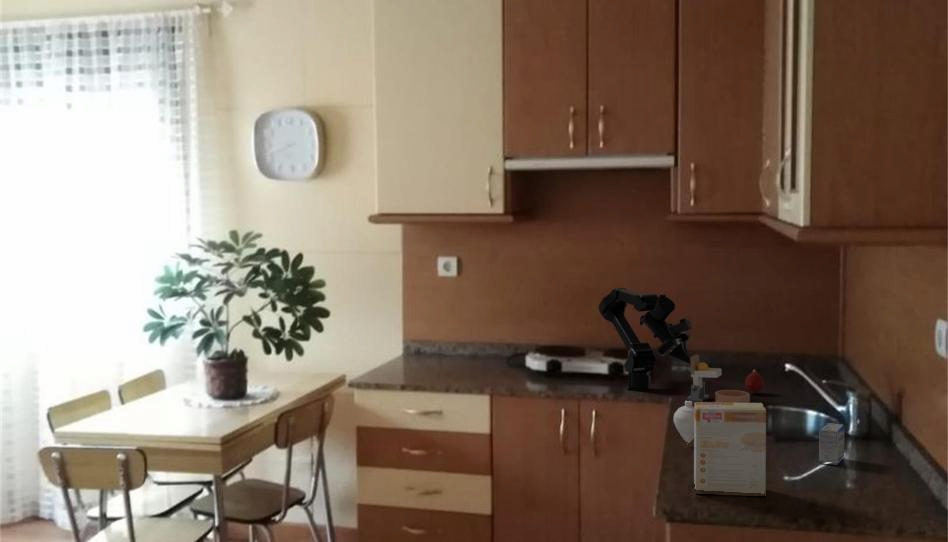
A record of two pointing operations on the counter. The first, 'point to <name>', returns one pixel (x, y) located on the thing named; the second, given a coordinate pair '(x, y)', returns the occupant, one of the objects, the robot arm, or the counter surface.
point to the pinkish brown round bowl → (732, 396)
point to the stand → (698, 393)
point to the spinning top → (685, 421)
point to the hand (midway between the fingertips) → (692, 363)
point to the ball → (702, 366)
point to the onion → (754, 382)
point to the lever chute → (702, 372)
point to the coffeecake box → (730, 447)
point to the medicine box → (831, 443)
